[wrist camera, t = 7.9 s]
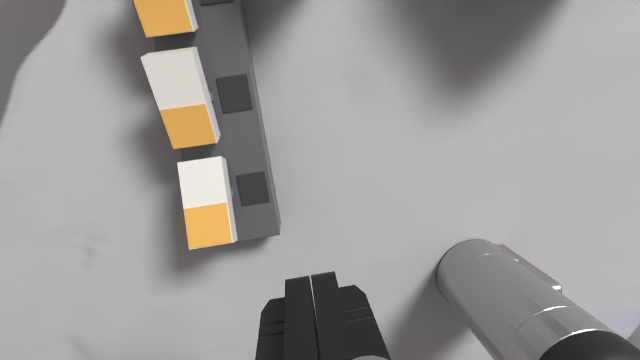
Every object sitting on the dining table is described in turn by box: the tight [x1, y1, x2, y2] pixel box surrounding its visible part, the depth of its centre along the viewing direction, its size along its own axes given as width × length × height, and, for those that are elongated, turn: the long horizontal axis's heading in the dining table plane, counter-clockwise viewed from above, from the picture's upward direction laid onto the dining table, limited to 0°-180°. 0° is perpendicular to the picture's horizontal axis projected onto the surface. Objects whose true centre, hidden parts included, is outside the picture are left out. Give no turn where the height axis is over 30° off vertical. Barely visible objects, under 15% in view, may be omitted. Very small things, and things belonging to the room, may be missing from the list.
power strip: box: [154, 0, 281, 242], centre depth 34 cm, size 8×30×5 cm, turn 8°
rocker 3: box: [177, 156, 237, 250], centre depth 32 cm, size 4×8×2 cm, turn 8°
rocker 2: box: [140, 47, 221, 149], centre depth 30 cm, size 4×8×2 cm, turn 8°
